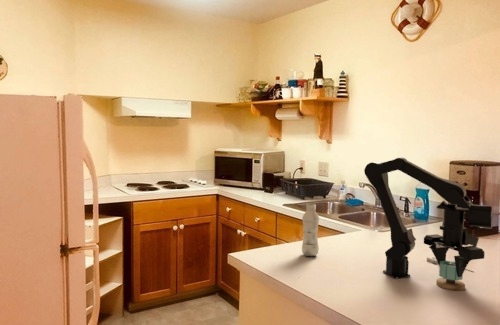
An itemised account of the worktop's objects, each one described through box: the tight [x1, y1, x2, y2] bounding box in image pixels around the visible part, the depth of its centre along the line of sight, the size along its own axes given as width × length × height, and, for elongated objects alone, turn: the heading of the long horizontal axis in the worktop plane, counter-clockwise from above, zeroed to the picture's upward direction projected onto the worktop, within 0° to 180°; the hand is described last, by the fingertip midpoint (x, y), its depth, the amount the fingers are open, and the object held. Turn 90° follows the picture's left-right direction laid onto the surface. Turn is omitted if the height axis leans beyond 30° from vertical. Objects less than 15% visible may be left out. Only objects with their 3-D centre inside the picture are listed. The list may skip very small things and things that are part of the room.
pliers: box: [426, 256, 475, 273], centre depth 141 cm, size 10×2×15 cm
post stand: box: [435, 263, 466, 292], centre depth 123 cm, size 8×8×7 cm
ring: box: [438, 260, 463, 281], centre depth 123 cm, size 6×6×4 cm
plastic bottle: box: [301, 203, 320, 257], centre depth 152 cm, size 6×7×20 cm
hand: (450, 273), depth 123 cm, fingers closed on ring, 6 cm apart
